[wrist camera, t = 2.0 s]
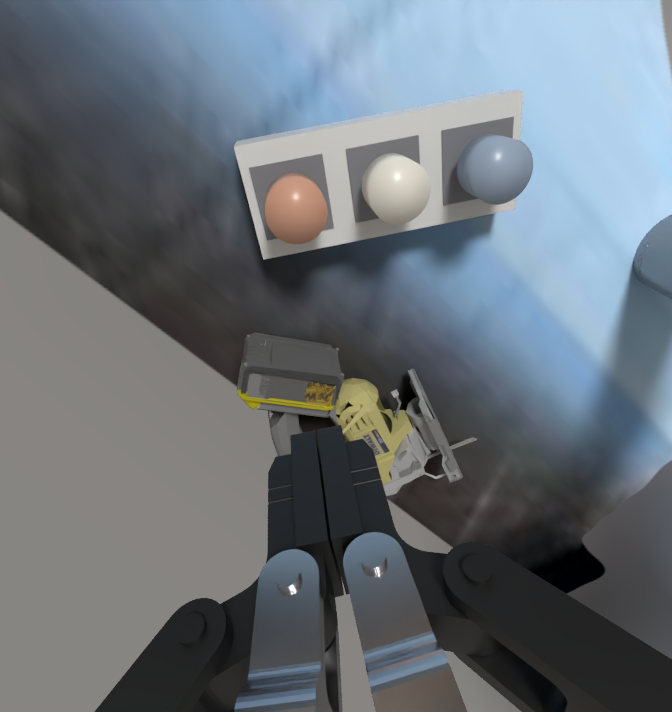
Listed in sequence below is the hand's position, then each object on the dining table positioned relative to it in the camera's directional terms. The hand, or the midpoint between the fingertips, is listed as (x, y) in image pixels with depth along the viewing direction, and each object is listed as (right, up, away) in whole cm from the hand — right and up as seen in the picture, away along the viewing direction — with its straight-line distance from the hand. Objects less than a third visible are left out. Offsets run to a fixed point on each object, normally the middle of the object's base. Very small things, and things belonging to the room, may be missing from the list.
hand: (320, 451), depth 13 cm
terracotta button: (-3, +16, +25) cm, 30 cm away
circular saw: (+15, 0, +38) cm, 41 cm away
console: (+4, +21, +30) cm, 37 cm away
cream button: (+5, +18, +25) cm, 31 cm away
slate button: (+14, +19, +25) cm, 35 cm away
